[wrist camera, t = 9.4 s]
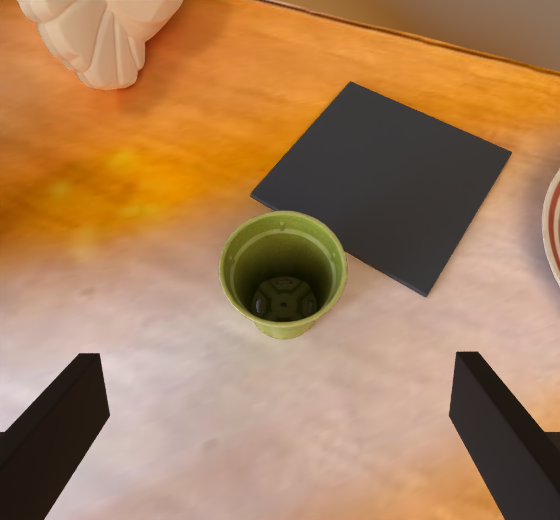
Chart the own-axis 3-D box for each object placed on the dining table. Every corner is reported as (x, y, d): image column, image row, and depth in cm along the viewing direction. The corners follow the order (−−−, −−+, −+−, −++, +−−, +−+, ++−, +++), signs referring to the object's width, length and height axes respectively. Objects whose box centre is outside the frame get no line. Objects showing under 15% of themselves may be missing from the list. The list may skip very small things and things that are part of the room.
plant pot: (333, 260, 40) (342, 208, 33) (340, 357, 36) (352, 324, 28) (235, 262, 41) (221, 211, 33) (231, 359, 36) (214, 327, 29)
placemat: (425, 297, 38) (427, 295, 38) (250, 197, 44) (250, 193, 44) (509, 155, 46) (512, 151, 45) (349, 85, 51) (350, 81, 51)
